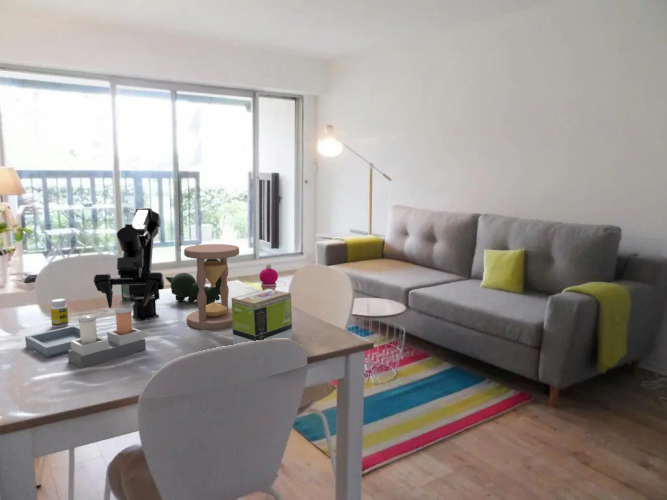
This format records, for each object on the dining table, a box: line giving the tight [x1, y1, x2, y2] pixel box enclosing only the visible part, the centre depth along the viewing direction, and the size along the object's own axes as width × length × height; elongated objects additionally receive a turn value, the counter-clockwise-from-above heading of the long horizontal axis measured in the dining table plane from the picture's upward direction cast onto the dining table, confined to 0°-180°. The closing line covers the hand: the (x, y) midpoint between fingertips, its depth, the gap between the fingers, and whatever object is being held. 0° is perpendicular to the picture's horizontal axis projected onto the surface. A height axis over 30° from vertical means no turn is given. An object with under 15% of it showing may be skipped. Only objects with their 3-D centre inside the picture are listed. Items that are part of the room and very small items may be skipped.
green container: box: [120, 285, 134, 304], centre depth 196 cm, size 8×8×11 cm
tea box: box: [231, 289, 293, 345], centre depth 149 cm, size 15×10×15 cm, turn 141°
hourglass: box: [183, 243, 240, 330], centre depth 169 cm, size 18×18×25 cm
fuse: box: [77, 314, 98, 345], centre depth 134 cm, size 4×4×9 cm
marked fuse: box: [114, 306, 133, 335], centre depth 142 cm, size 4×4×9 cm
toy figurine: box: [165, 259, 222, 304], centre depth 193 cm, size 9×19×25 cm
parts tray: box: [24, 325, 99, 359], centre depth 146 cm, size 14×14×3 cm
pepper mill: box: [259, 263, 279, 290], centre depth 168 cm, size 7×7×20 cm
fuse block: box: [67, 326, 147, 369], centre depth 139 cm, size 18×7×6 cm, turn 141°
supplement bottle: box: [50, 298, 69, 328], centre depth 164 cm, size 5×5×8 cm
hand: (126, 306), depth 145 cm, fingers open, 9 cm apart
